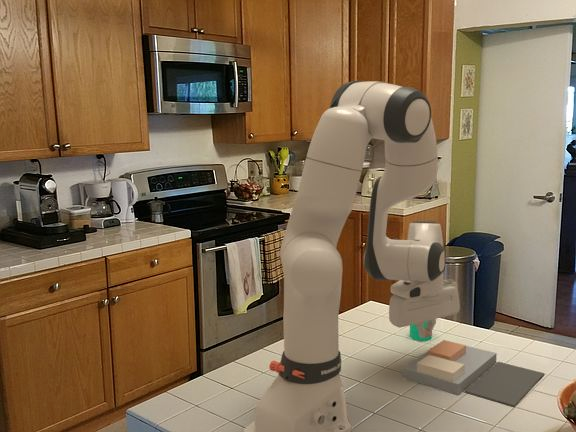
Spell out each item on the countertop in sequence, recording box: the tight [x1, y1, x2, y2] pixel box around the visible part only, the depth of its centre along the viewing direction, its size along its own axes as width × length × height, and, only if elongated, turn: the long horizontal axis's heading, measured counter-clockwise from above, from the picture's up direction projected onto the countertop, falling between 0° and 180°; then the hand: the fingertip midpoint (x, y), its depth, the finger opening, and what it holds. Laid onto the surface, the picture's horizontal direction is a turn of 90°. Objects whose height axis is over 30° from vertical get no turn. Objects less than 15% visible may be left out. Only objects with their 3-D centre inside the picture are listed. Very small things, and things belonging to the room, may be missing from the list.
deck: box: [401, 345, 498, 396], centre depth 139 cm, size 22×14×2 cm, turn 139°
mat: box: [463, 361, 545, 408], centre depth 131 cm, size 20×11×1 cm, turn 139°
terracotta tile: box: [426, 339, 467, 361], centre depth 141 cm, size 9×6×2 cm, turn 139°
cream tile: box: [417, 355, 465, 381], centre depth 132 cm, size 9×6×2 cm, turn 49°
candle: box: [409, 321, 433, 342], centre depth 160 cm, size 6×6×12 cm
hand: (425, 336), depth 145 cm, fingers closed
